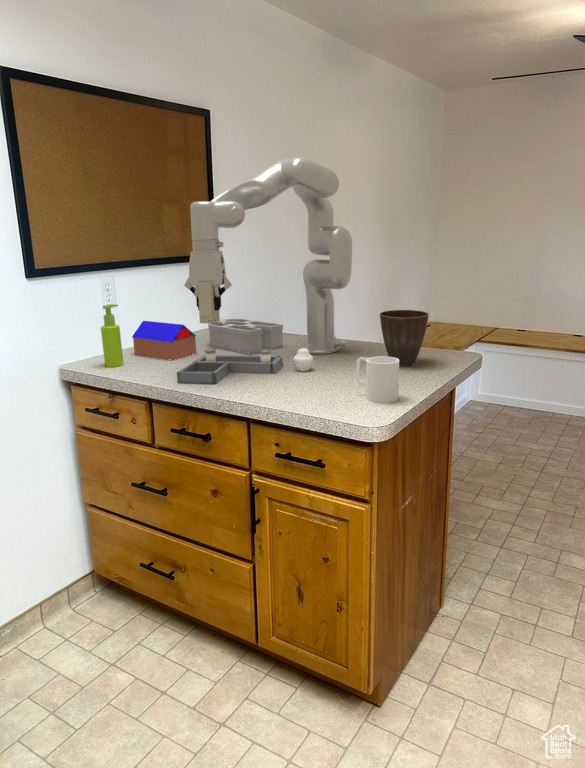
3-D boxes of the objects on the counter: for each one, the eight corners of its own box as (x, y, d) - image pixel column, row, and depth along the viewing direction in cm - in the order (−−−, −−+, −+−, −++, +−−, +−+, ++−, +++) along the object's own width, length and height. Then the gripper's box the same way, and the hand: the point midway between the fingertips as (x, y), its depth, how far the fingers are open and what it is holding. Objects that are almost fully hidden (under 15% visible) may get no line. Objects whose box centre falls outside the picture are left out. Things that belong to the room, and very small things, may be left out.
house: (158, 349, 220) (155, 318, 217) (197, 354, 209) (195, 322, 206) (133, 355, 211) (130, 323, 207) (173, 361, 200) (170, 327, 197)
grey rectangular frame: (282, 365, 189) (282, 356, 188) (275, 373, 179) (275, 363, 178) (204, 363, 194) (203, 354, 193) (193, 371, 184) (192, 362, 184)
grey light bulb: (218, 366, 190) (217, 348, 188) (214, 369, 186) (213, 350, 185) (208, 366, 190) (206, 348, 189) (204, 369, 187) (203, 350, 185)
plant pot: (435, 362, 187) (437, 312, 183) (411, 371, 176) (412, 318, 172) (395, 356, 197) (396, 308, 192) (369, 364, 186) (370, 314, 182)
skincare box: (213, 323, 171) (211, 281, 168) (198, 323, 172) (196, 281, 169) (220, 320, 177) (218, 280, 174) (206, 320, 178) (204, 279, 175)
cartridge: (272, 367, 186) (271, 349, 184) (269, 370, 183) (269, 351, 181) (262, 367, 187) (261, 349, 185) (259, 370, 183) (258, 351, 182)
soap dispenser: (129, 363, 198) (123, 303, 193) (115, 367, 192) (108, 306, 187) (115, 361, 200) (109, 303, 195) (101, 366, 194) (94, 306, 189)
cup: (363, 389, 160) (363, 353, 157) (404, 396, 153) (404, 358, 150) (347, 397, 153) (347, 359, 151) (389, 404, 146) (389, 365, 144)
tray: (229, 372, 182) (229, 362, 181) (215, 384, 169) (214, 373, 168) (194, 371, 184) (193, 361, 183) (177, 383, 171) (176, 372, 170)
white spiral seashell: (309, 373, 178) (309, 350, 177) (290, 371, 180) (290, 349, 179) (316, 368, 184) (315, 346, 182) (297, 367, 186) (297, 345, 184)
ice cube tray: (250, 355, 205) (249, 331, 203) (200, 346, 224) (199, 323, 221) (284, 347, 216) (283, 324, 214) (233, 339, 235) (232, 317, 233)
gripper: (237, 245, 171) (240, 308, 176) (183, 246, 174) (187, 307, 179) (229, 246, 164) (232, 312, 169) (173, 247, 167) (177, 311, 172)
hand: (209, 309), depth 174 cm, fingers closed on skincare box, 4 cm apart
